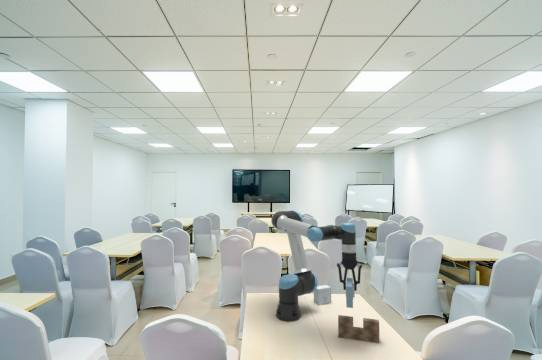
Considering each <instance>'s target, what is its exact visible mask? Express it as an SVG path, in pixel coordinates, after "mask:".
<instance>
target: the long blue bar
mask: <svg viewBox="0 0 542 360" xmlns="http://www.w3.org/2000/svg"><path fill="white" fill-rule="evenodd" d="M353 283H354V280H353V277H346V290H345V300H346V302H345V303H346V305H345V306H346V308H347V309H348V308H350V309H351V308H352V309H353V308H354V297H353Z"/></svg>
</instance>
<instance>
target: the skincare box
mask: <svg viewBox="0 0 542 360" xmlns="http://www.w3.org/2000/svg"><path fill="white" fill-rule="evenodd" d="M313 303H315V304H317V305H318V306H321V305H327V304H331V303H332V287H331V286H329V285H327V284H323V285H317V288H316V290H315V291H313Z"/></svg>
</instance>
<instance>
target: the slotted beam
mask: <svg viewBox="0 0 542 360" xmlns="http://www.w3.org/2000/svg"><path fill="white" fill-rule="evenodd" d="M337 315H338V316H337V324H338V325H337V328H338V329H337V333H338V335H337V336H338V338H343V339H349V340H356V341H364V342H369V343H376V344H380V320H379V319H374V318H366V317H363V318H362V322H363V323H362V325H363V326H362V327H358V326H354V316H350V315H349V316H348V315H342V314H337Z"/></svg>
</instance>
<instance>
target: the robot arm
mask: <svg viewBox="0 0 542 360" xmlns="http://www.w3.org/2000/svg"><path fill="white" fill-rule="evenodd" d="M271 225H272V226H273V227H274V228H275V229H277V230H281V231H284V233H285V234H287V238H288V243H289V247H290V252H291V257H292V262H293V266H294V272H293V274H292V273H290V274H284V275H282V276H281V277H279V280H278V304H277V307H276V311H275V316H276V318H277V319H278V320H281V321H284V322H294V321H298V320H301V317H302V312H301V308H300V305H299V297H301V296H304V295H307V294H311V293H314V291H315V290H316V288H317V286H319V285H318V283H319V282H318V281H319V280H318V277H317V275H315V273H313V271H312V270H311V269H310V267H309V265H308V260H307V257H306V252H305V248H304V247H305V246H304V244H303V241H302V240H303V238H302V237H304V238H305V237H306V238H307V239H308V240H309V241H310V242H316V243H317V242H318V243H319V242H322V241H330V240H339V241H340V240H341V261H340V262H337V263H336V266H337V268H338V276H339V282H340V283H342V285H343V287H342V288H343V290H344V291H346V282H347V275H348V270H350V271H351V274H352V275H351V276H352V278H353V299H354V298H355V296H356V295H355V292H356V291H357V290H358V289H357V287H358V286H357V285H358V284H359V285H360V284H361V271H362V268H363V265H362V263H361V264H360V263H358V260H357V253H356V252H357V243H356V242H357V241H356V240H357V238H356V237H357V235H356V234H357V233H356V232H357V229H356V224H355V223H353V222H342V223H341V225H333V224H327V225H325V226H318V225H314V224H310V223H307V222H304V218H303V215H302V213H301V212H299V211H297V210H283V211H282V210H281V211H280V210H279V211H277V212H275V213H273V215H272V217H271ZM341 267H343V268H344V274H343V275H344V276H343V275H342V268H341ZM356 267H357V268H358V269H357V277H356V271H355V268H356Z"/></svg>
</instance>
